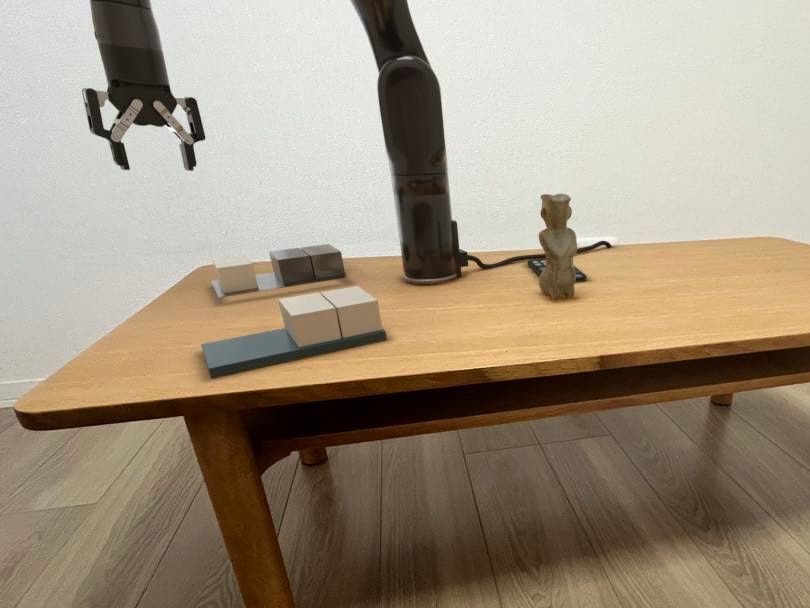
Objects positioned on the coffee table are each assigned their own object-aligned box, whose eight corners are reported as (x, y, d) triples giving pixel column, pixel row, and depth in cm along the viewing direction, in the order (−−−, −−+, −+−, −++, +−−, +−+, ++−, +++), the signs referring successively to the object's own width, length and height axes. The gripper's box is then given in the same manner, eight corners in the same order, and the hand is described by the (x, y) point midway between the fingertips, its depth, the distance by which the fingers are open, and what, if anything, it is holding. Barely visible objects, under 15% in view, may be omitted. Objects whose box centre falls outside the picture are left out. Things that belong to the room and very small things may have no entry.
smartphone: (546, 280, 90) (525, 260, 103) (546, 284, 91) (526, 263, 103) (588, 276, 92) (562, 257, 105) (588, 280, 92) (562, 260, 105)
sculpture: (567, 287, 89) (568, 190, 82) (582, 299, 83) (585, 196, 76) (534, 290, 88) (532, 192, 81) (546, 303, 82) (545, 198, 74)
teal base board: (365, 321, 76) (358, 284, 73) (387, 339, 69) (380, 300, 67) (204, 353, 66) (190, 312, 64) (211, 378, 59) (196, 334, 57)
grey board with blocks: (331, 270, 102) (325, 242, 100) (350, 284, 93) (344, 253, 91) (212, 287, 92) (203, 257, 90) (220, 305, 84) (210, 271, 81)
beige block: (251, 277, 93) (244, 254, 91) (258, 288, 87) (252, 263, 85) (218, 282, 91) (211, 258, 89) (224, 293, 85) (216, 268, 83)
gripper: (73, 36, 69) (109, 172, 76) (196, 53, 79) (217, 173, 86) (60, 37, 73) (95, 166, 81) (178, 53, 83) (200, 167, 90)
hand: (158, 169), depth 83 cm, fingers open, 8 cm apart
